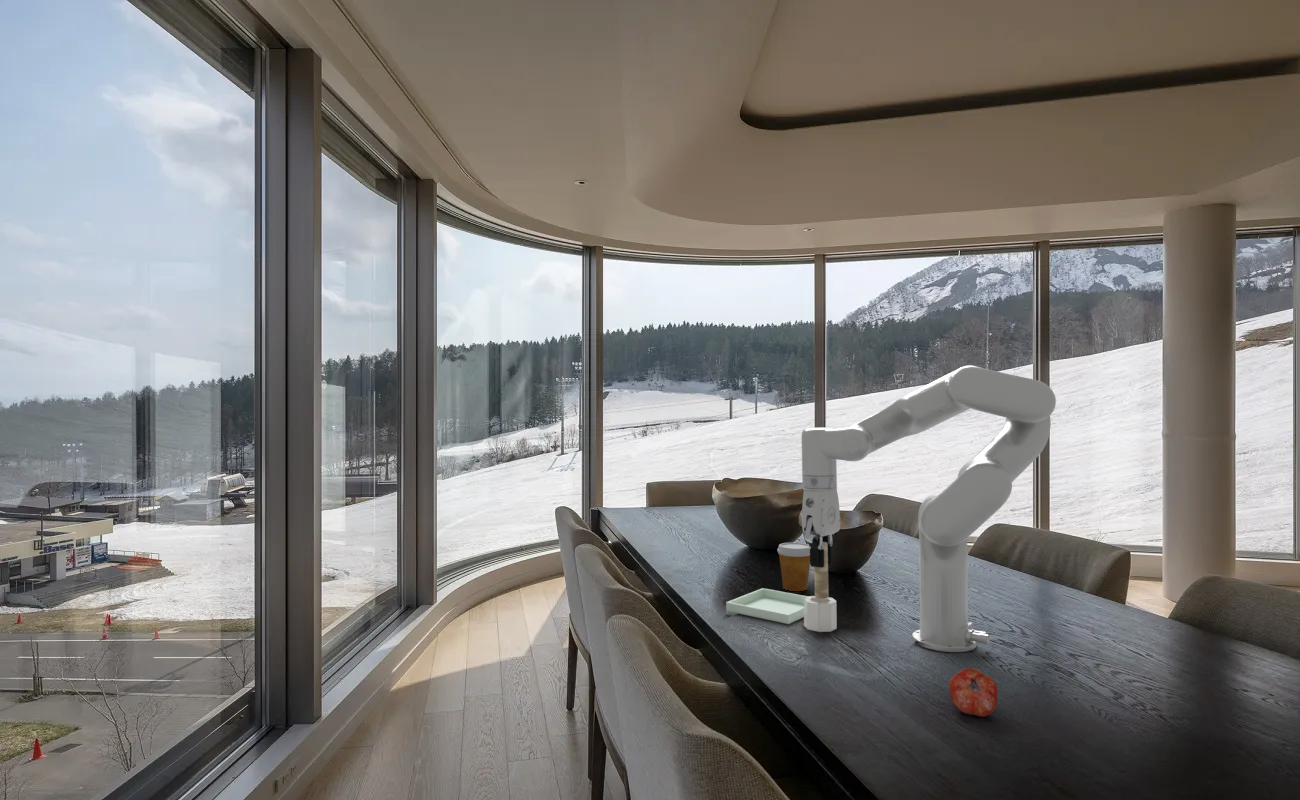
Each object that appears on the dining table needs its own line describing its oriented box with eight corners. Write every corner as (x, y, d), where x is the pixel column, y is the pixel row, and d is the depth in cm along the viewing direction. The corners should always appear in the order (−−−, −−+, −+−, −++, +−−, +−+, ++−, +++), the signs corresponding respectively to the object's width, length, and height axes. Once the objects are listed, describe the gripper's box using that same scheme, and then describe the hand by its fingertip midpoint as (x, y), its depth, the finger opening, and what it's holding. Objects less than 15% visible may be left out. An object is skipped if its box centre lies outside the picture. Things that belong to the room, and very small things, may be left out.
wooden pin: (830, 596, 163) (829, 542, 163) (824, 599, 160) (823, 544, 160) (818, 594, 164) (817, 541, 165) (812, 597, 162) (811, 543, 162)
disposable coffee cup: (810, 585, 203) (810, 542, 203) (815, 594, 194) (814, 549, 194) (776, 584, 204) (775, 542, 204) (778, 593, 195) (778, 548, 195)
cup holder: (840, 630, 163) (840, 599, 163) (827, 638, 158) (827, 605, 158) (813, 624, 167) (813, 594, 167) (799, 632, 162) (799, 600, 162)
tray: (823, 611, 178) (823, 599, 178) (788, 628, 165) (788, 615, 165) (762, 599, 189) (762, 588, 189) (726, 614, 176) (726, 602, 176)
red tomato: (948, 715, 124) (939, 696, 117) (959, 674, 127) (950, 653, 120) (995, 732, 119) (988, 712, 113) (1005, 689, 123) (999, 667, 116)
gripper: (817, 487, 154) (819, 574, 154) (850, 480, 166) (852, 560, 166) (786, 485, 159) (788, 569, 159) (820, 478, 171) (822, 556, 171)
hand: (821, 564), depth 162 cm, fingers closed on wooden pin, 3 cm apart
